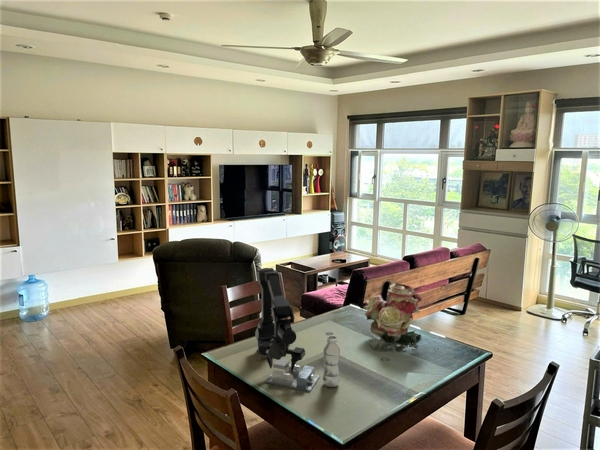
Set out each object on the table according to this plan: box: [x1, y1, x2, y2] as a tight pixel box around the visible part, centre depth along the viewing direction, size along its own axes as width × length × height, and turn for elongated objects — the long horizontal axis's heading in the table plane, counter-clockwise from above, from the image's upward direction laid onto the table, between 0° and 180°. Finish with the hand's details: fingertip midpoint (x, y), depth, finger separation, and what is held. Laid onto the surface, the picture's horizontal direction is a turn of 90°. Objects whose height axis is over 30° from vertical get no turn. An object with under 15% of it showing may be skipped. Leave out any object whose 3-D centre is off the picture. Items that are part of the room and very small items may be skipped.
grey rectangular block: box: [272, 358, 290, 374], centre depth 179 cm, size 5×5×6 cm
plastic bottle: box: [322, 335, 341, 388], centre depth 172 cm, size 6×7×20 cm
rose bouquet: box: [363, 282, 423, 353], centre depth 210 cm, size 26×29×30 cm
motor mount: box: [265, 363, 321, 393], centre depth 177 cm, size 19×12×5 cm, turn 70°
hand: (281, 370), depth 179 cm, fingers open, 9 cm apart
